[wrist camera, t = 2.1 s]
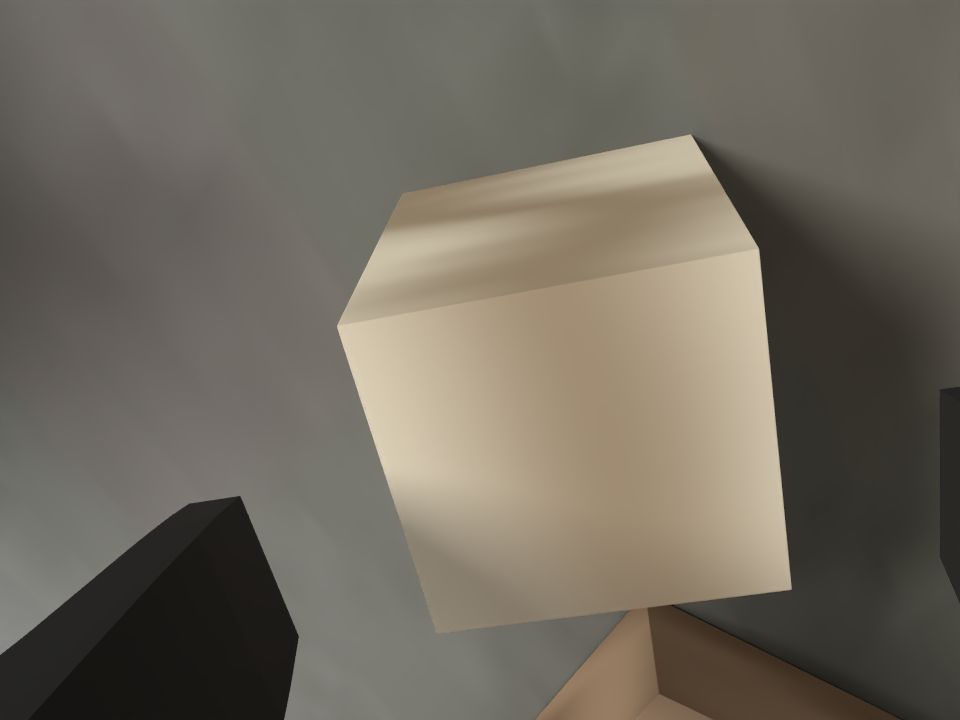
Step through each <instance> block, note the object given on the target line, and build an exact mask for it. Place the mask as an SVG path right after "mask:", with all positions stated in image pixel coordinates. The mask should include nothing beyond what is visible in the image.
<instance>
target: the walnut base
mask: <svg viewBox="0 0 960 720" xmlns="http://www.w3.org/2000/svg"><path fill="white" fill-rule="evenodd" d="M535 720H901V719H899V718H897V717H895V716H893V715H891V714H889V713H887V712H885V711H883V710H881V709H879V708H877V707H875V706H873V705H871V704H869V703H867V702H865V701H863V700H861V699H859V698H857V697H855V696H853V695H850V694H848V693H846V692H844V691H842V690H840V689H838V688H836V687H834V686H832V685H830V684H828V683H826V682H824V681H822V680H820V679H818V678H816V677H814V676H812V675H810V674H808V673H806V672H804V671H802V670H800V669H798V668H796V667H794V666H792V665H790V664H788V663H786V662H784V661H782V660H780V659H778V658H776V657H774V656H772V655H770V654H768V653H766V652H764V651H762V650H760V649H758V648H756V647H754V646H752V645H750V644H748V643H746V642H744V641H742V640H740V639H738V638H736V637H734V636H732V635H730V634H728V633H726V632H724V631H721V630H719V629H717V628H715V627H713V626H711V625H709V624H707V623H705V622H703V621H701V620H699V619H697V618H695V617H693V616H691V615H689V614H687V613H685V612H683V611H681V610H679V609H677V608H675V607H673V606H671V605H664V606H656V607H648V608H640V609H632V610H630V611H629V612H628V613H627V614H626V615H625V616H624V618H623V619H622V620H621V621H620V622H619V623H618V625H617V626H616V627H615V628H614V629H613V630H612V631H611V633H610V634H609V635H608V636H607V637H606V638H605V640H604V641H603V642H602V643H601V644H600V645H599V647H598V648H597V649H596V650H595V651H594V652H593V653H592V655H591V656H590V657H589V658H588V659H587V660H586V662H585V663H584V664H583V665H582V666H581V667H580V668H579V670H578V671H577V672H576V673H575V674H574V675H573V677H572V678H571V679H570V680H569V681H568V682H567V683H566V685H565V686H564V687H563V688H562V689H561V690H560V692H559V693H558V694H557V695H556V696H555V697H554V698H553V700H552V701H551V702H550V703H549V704H548V705H547V707H546V708H545V709H544V710H543V711H542V712H541V714H540V715H539V716H538V717H537V718H536V719H535Z"/></svg>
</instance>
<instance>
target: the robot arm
mask: <svg viewBox="0 0 960 720" xmlns="http://www.w3.org/2000/svg"><path fill="white" fill-rule="evenodd" d="M940 558H941V560H942V562H943V565H944V567H945V570H946V572H947V574H948V577H949V579H950V581H951V584H952V586H953V588H954V591H955V593H956V595H957V598H958V600H959V602H960V387H955V388H948V389H942V390H940ZM298 638H299V636H298V634H297V631H296V629H295V626H294V624H293V622H292V619H291V617H290V614H289V612H288V610H287V607H286V605H285V602H284V600H283V598H282V595H281V593H280V590H279V588H278V586H277V583H276V581H275V578H274V576H273V573H272V571H271V569H270V566H269V564H268V561H267V559H266V557H265V554H264V552H263V549H262V547H261V545H260V542H259V540H258V537H257V535H256V533H255V530H254V528H253V525H252V523H251V521H250V518H249V516H248V513H247V511H246V509H245V506H244V504H243V501H242V499H241V497H240V496H237V497H231V498H224V499H218V500H211V501H204V502H198V503H191V504H188V505H187V506H185V507H184V508H182V509H181V510H179V511H178V512H176V513H175V514H173V515H172V516H170V517H169V518H168V519H166V520H165V521H164V522H162V523H161V524H160V525H158V526H157V527H156V528H155V529H153V530H152V531H151V532H149V533H148V534H147V535H146V536H145V537H143V538H142V539H141V540H140V541H138V542H137V543H136V544H135V545H133V546H132V547H131V548H130V549H129V550H127V551H126V552H125V553H124V554H122V555H121V556H120V557H119V558H118V559H116V560H115V561H114V562H113V563H112V564H110V565H109V566H108V567H107V568H106V569H104V570H103V571H102V572H101V573H100V574H98V575H97V576H96V577H95V578H94V579H93V580H91V581H90V582H89V583H88V584H87V585H85V586H84V587H83V588H82V589H81V590H79V591H78V592H77V593H76V594H75V595H73V596H72V597H71V598H70V599H69V600H67V601H66V602H65V603H64V604H63V605H61V606H60V607H59V608H58V609H57V610H55V611H54V612H53V613H52V614H51V615H49V616H48V617H47V618H46V619H45V620H43V621H42V622H41V623H40V624H39V625H37V626H36V627H35V628H34V629H33V630H31V631H30V632H29V633H28V634H26V635H25V636H24V637H23V638H21V639H20V640H19V641H18V642H16V643H15V644H14V645H13V646H11V647H10V648H9V649H7V650H6V651H5V652H4V653H2V654H1V655H0V720H284V717H285V712H286V707H287V702H288V697H289V692H290V687H291V681H292V675H293V669H294V663H295V656H296V650H297V644H298Z"/></svg>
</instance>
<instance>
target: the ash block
mask: <svg viewBox="0 0 960 720" xmlns="http://www.w3.org/2000/svg"><path fill="white" fill-rule="evenodd" d="M337 328H338V331H339V334H340V337H341V340H342V344H343V347H344V350H345V353H346V356H347V359H348V362H349V365H350V368H351V371H352V374H353V377H354V380H355V384H356V387H357V390H358V393H359V396H360V399H361V402H362V405H363V408H364V411H365V414H366V417H367V420H368V423H369V427H370V430H371V433H372V436H373V439H374V442H375V445H376V448H377V451H378V454H379V457H380V460H381V463H382V466H383V470H384V473H385V476H386V479H387V482H388V485H389V488H390V491H391V494H392V497H393V500H394V503H395V506H396V509H397V513H398V516H399V519H400V522H401V525H402V528H403V531H404V534H405V537H406V540H407V543H408V546H409V549H410V553H411V556H412V559H413V562H414V565H415V568H416V571H417V574H418V577H419V580H420V583H421V586H422V589H423V592H424V596H425V599H426V602H427V605H428V608H429V611H430V614H431V617H432V620H433V623H434V626H435V629H436V632H437V634H438V633H446V632H454V631H462V630H470V629H478V628H486V627H494V626H502V625H511V624H519V623H527V622H535V621H543V620H551V619H559V618H567V617H575V616H583V615H591V614H599V613H607V612H616V611H624V610H632V609H640V608H648V607H656V606H664V605H672V604H680V603H688V602H696V601H704V600H713V599H721V598H729V597H737V596H745V595H753V594H761V593H769V592H777V591H785V590H792V588H791V577H790V567H789V557H788V546H787V536H786V525H785V515H784V505H783V494H782V484H781V473H780V463H779V453H778V442H777V432H776V421H775V411H774V401H773V390H772V380H771V369H770V359H769V349H768V338H767V328H766V317H765V307H764V297H763V286H762V276H761V265H760V255H759V248H758V246H757V245H756V243H755V241H754V240H753V238H752V236H751V235H750V233H749V231H748V230H747V228H746V226H745V225H744V223H743V221H742V219H741V218H740V216H739V214H738V213H737V211H736V209H735V208H734V206H733V204H732V203H731V201H730V199H729V198H728V196H727V194H726V193H725V191H724V189H723V188H722V186H721V184H720V183H719V181H718V179H717V177H716V176H715V174H714V172H713V171H712V169H711V167H710V166H709V164H708V162H707V161H706V159H705V157H704V156H703V154H702V152H701V151H700V149H699V147H698V146H697V144H696V142H695V140H694V139H693V137H692V135H686V136H681V137H676V138H672V139H667V140H662V141H657V142H652V143H647V144H642V145H637V146H633V147H628V148H623V149H618V150H613V151H608V152H603V153H599V154H594V155H589V156H584V157H579V158H574V159H569V160H564V161H560V162H555V163H550V164H545V165H540V166H535V167H530V168H526V169H521V170H516V171H511V172H506V173H501V174H496V175H491V176H487V177H482V178H477V179H472V180H467V181H462V182H457V183H452V184H448V185H443V186H438V187H433V188H428V189H423V190H418V191H414V192H409V193H404V194H402V195H401V197H400V199H399V201H398V203H397V205H396V207H395V209H394V211H393V213H392V215H391V217H390V219H389V221H388V223H387V225H386V228H385V230H384V232H383V234H382V236H381V238H380V240H379V242H378V244H377V246H376V248H375V250H374V252H373V254H372V256H371V258H370V260H369V262H368V264H367V266H366V268H365V270H364V272H363V274H362V276H361V278H360V280H359V282H358V284H357V286H356V288H355V290H354V292H353V294H352V296H351V298H350V300H349V302H348V305H347V307H346V309H345V311H344V313H343V315H342V317H341V319H340V321H339V323H338V325H337Z"/></svg>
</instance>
